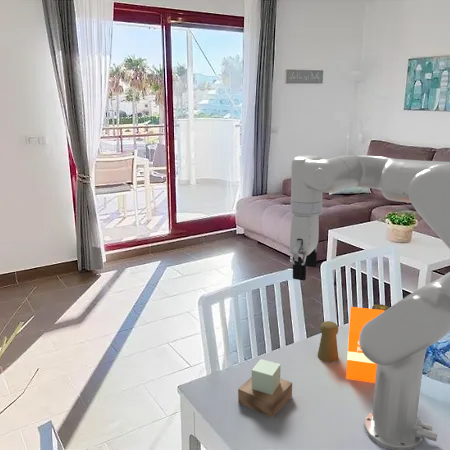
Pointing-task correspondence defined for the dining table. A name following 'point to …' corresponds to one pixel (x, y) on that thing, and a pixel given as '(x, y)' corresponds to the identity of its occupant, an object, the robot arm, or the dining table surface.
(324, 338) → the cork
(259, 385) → the sage cube
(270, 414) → the walnut block
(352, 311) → the orange juice
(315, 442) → the dining table surface
